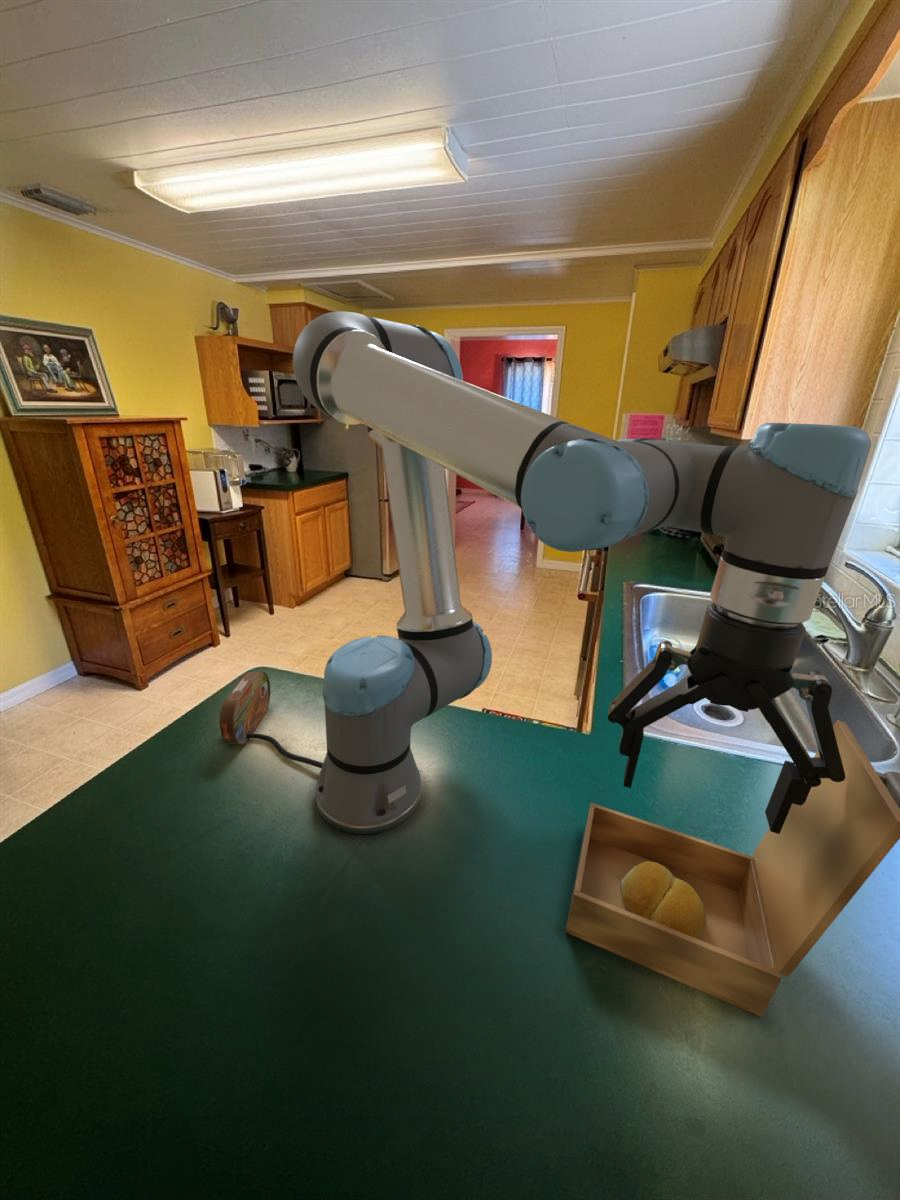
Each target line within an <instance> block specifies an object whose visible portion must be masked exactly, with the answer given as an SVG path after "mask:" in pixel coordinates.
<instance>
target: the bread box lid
mask: <svg viewBox="0 0 900 1200" xmlns="http://www.w3.org/2000/svg"><path fill="white" fill-rule="evenodd" d="M833 729H834V733H835V737H836V741H837V745H838V749H839V752H840V756H841V760H842V764H843V768H844V772H845V780H844V781H842V782H834V781H832V780H831V779H830V778H820V779H821V784H820V785H819V786H817V787H811V790H810V792H809V794H808V797H807V799H806V801H805V803H804V804H802V805H801V806H800V805H796V804H793V803H792V805H791V808H790V810H789V812H788V815H787V817H786V820H785V822H784V825H783V827H782V829H781V832H780V834H777V833H774V832H771V831H770V828H769V827H768V828H767V830H766V833H764V835H763V837H762V838H761V840H760V841H759V843H758V845H757V846H756V848H755V850H754V851H753V857H754V859H755V863H756V868H757V873H758V877H759V882H760V886H761V891H762V895H763V900H764V905H765V909H766V914H767V918H768V923H769V928H770V932H771V937H772V941H773V946H774V951H775V955H776V960H777V964H778V969H779V973H780V974H781V976H784V977H787V978H789V977H790V976H791V975H792V974H793V972H794V971H795V970H796V968H798V966H799V965H800V964H801V962H802V961H803V960H804V959H805V957H806V956H807V955H808V953H809V952H810V951H811V950H812V949H813V947H814V946H815V945H816V944H817V943H818V942H819V940H820V938H821V937H822V936H823V935H824V934H825V933H826V932H827V930H828V929H829V927H830V926H831V925H832V924H833V922H834V921H835V920H836V919H837V918H838V917H839V915H840V914H841V913H842V912H843V910H844V909H845V907H846V906H847V905H848V904H849V903H850V901H851V900H852V899H853V897H855V895H856V894H857V893H858V892H859V890H860V889H861V888H862V887H863V885H864V884H865V883H866V882H867V880H868V879H869V878H870V876H871V875H872V874H873V873H874V871H876V869H877V868H878V866H879V865H880V864H881V862H883V860H884V859H885V858H886V856H887V855H888V854H889V853H890V851H891V850H892V849H893V848H894V847H895V845H896V844H897V843H898V842H899V840H900V772H897V771H885V772H879V771H877V770H876V769H875V767H874V766H873V764H872V763H871V761H870V759H869V758H868V756H867V755H866V753H865V752H864V750H863V748H862V747H861V745H860V744H859V741H858V740H857V738H856V737H855V735H854V734H853V733H852V731H851V729H850V727H849V726H848V724H847V723H846V722H844V721H841V720H836V721H835V723H834V725H833ZM813 757H816V758H820V755H819V752H818V750H817V751H816V753H815V755H814V756H813Z"/></svg>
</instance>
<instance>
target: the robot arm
mask: <svg viewBox="0 0 900 1200" xmlns="http://www.w3.org/2000/svg"><path fill="white" fill-rule="evenodd" d="M292 369H293V373H294V378H295V382H296V383H297V386H298V388H299V389H300V391H301V393H302V395H303V396H304V397H305V399H306V400H307V401H308V402H309V403H310V405H312V406H314V408H316V409H317V410H318V411H320V412H322V413H323V414H325V415H326V416H328V417H330V418H332V419H334V420H335V421H337V422H339V423H342V424H345V425H349V426H350V425H351V426H354V425H355V426H356V425H360V424H362V425H365V426H366V427H367V434H368V435H367V436H368V438H370V439H371V440H372V441H373V442H375V443H376V444H377V445H378V446H379V448H381V455H382V462H383V470H384V476H385V483H386V490H387V499H388V504H389V511H390V519H391V524H392V531H393V533H392V534H393V539H394V545H395V552H396V553H395V554H396V560H397V567H398V573H399V582H400V587H401V597H402V601H403V610H404V611H403V613H402V615H401V616H400V618H399V619H398V620H397V621H396V631H397V637H398V638H397V637H394V636H389V635H377V636H375V637H371V636H370V635H369V636H363V637H360V638H357V639H353V640H351V641H349V642H347V643H345V644H343V645H342V646H340V647H339V648H337V649H336V650H335V651H334V652H333V653H332V654H331V655H330V657H329V659H328V660H327V662H326V665H325V668H324V672H323V673H324V674H323V686H322V699H323V703H324V716H325V717H324V718H325V738H326V739H325V741H326V754H325V757H324V760H323V762H321V761H318V760H315V759H312V758H308V757H305V756H301V755H297V754H294V753H291V752H289V751H287V750H286V749H285V748H284V747H283V746H282V745H281V744H280V743H279V741H278V740H276V739H275V738H274V737H272V736H270V735H267V734H262V733H253V734H246V738H250V739H254V740H255V739H256V740H263V741H265V742H268V743H270V744H271V745H272V746H273V747H274V748H275V749H276V750H277V752H278V753H280V754H281V755H282V757H284V758H287V759H289V760H292V761H295V762H300V763H303V764H307V765H310V766H312V767H315V768H318V769H320V771H319V773H318V777H317V780H316V785H315V802H316V809H317V810H318V813H319V814H320V816H321V817H322V819H323V820H324V821H325V822H326V823H327V824H329V825H330V826H331V827H333V828H335V829H337V830H339V831H341V832H344V833H349V834H354V835H372V834H379V833H383V832H387V831H389V830H391V829H393V828H395V827H398V826H400V825H401V824H402V823H404V822H405V821H406V820H407V819H408V818H410V817H411V816H412V815H413V814H414V812H415V811H416V809H417V807H418V805H419V803H420V800H421V796H422V778H421V774H420V771H419V769H418V766H417V763H416V759H415V757H414V755H413V752H412V748H411V733H412V732H411V731H412V727H413V725H415V724H416V723H418V722H420V721H422V720H423V719H425V718H427V717H429V716H431V715H433V714H435V713H436V712H438V711H440V710H441V709H443V708H445V707H447V706H449V705H450V704H453V703H454V702H456V701H458V700H462V699H464V698H466V697H468V696H469V695H470V694H471V693H473V692H474V691H475V690H476V689H478V688H479V687H481V686H482V685H483V684H484V683H485V681H486V680H487V678H488V676H489V674H490V671H491V668H492V662H493V652H492V646H491V643H490V639H489V638H488V636H487V634H484V633H483V632H484V629H483V628H482V627H481V625H479V624H478V623H477V622H476V621H474V619H473V613H472V612H471V611H470V610H468V609H467V608H466V607H464V606H463V604H462V603H461V594H460V593H461V592H460V583H459V576H458V569H457V560H456V552H455V551H456V550H455V542H454V534H453V526H452V518H451V509H450V499H449V491H448V483H447V474H446V469H447V470H448V471H450V472H452V473H454V474H456V475H458V476H459V477H461V478H463V479H465V480H467V481H469V482H471V483H472V484H474V485H476V486H478V487H479V488H482V489H483V490H485V491H487V492H489V493H491V494H492V495H495V496H496V497H498V498H500V499H502V500H504V501H506V502H507V503H509V504H511V505H514V506H515V507H517V508H519V509H520V510H522V515H523V517H524V519H525V522H526V524H527V525H528V527H530V529H531V531H532V532H533V534H534V537H536V538H537V539H538V540H539V541H540V542H541V543H543V544H544V545H546V546H547V547H549V548H551V549H554V550H557V551H561V552H566V553H577V552H582V551H597V550H601V549H604V548H607V547H612V546H615V545H616V544H619V543H621V542H623V541H625V540H627V539H630V538H632V537H635V536H637V535H641V534H645V533H647V532H652V531H655V530H658V529H660V528H663V527H667V528H674V529H678V530H685V531H693V532H698V533H704V534H706V535H711V536H712V535H713V536H722V537H725V538H724V546H723V549H722V552H721V554H720V555H721V556H720V560H719V564H718V567H717V570H716V573H715V577H714V581H713V584H712V586H711V591H710V595H709V597H710V600H711V601H712V603H710V604H709V605H708V606H706V609H705V613H704V617H703V621H702V624H701V628H700V631H699V635H698V639H697V642H696V645H695V646H694V647H693V649H691V650H690V651H688V650H685V649H681V648H678V647H675V646H673V644H672V643H671V641H668V640H662V641H660V642H659V644H658V646H657V649H656V651H655V654H654V657H653V659H651V661H650V662H648V664H646V666H645V667H644V668H642V670H641V671H640V672H639V673H638V674H637V675H636V676H635V677H634V678H633V679H632V680H631V681H630V682H629V683H628V684H627V686H626V687H625V688H623V689H622V690H621V691H620V693H618V695H617V696H616V697H615V698H614V699H612V700H611V702H610V703H609V708H608V712H607V713H608V714H607V720H608V721H609V722H610V723H612V724H618V725H620V727H621V728H622V732H621V736H620V741H619V746H618V747H619V748H618V751H619V754H620V755H621V756H624V757H627V759H626V764H625V768H624V775H623V787H624V788H628V789H632V786H633V782H634V781H633V780H634V777H635V773H636V769H637V766H638V761H639V758H640V753H641V748H642V745H643V742H644V741H643V740H644V734H645V733H644V732H645V731H644V730H645V728H646V727H648V726H650V725H652V724H653V723H656V722H657V721H659V720H662V719H663V718H665V717H668V715H671V714H673V713H674V712H676V711H679V710H680V709H682V708H683V707H686V706H687V705H694V704H696V703H698V702H700V701H702V700H704V699H706V700H707V701H709V703H710V704H712V705H716V706H722V707H723V706H725V707H726V706H728V707H731V708H733V709H735V710H738V711H742V712H746V713H748V712H749V711H752V710H756V709H759V711H760V713H761V715H762V716H763V717H764V719H765V721H766V722H767V723H768V725H769V726H770V727H771V729H772V731H773V732H774V734H775V735H776V737H777V738H778V740H779V742H780V743H781V745H782V746H783V748H784V749H785V751H786V753H787V754H788V756H789V758H790V759H791V760H792V761H789V760H784V762H783V764H782V768H781V770H780V773H779V775H778V777H777V779H776V783H775V785H774V788H773V790H772V792H771V795H770V798H769V801H768V803H767V806H766V808H765V811H764V813H765V816H766V821H767V824H768V829H769V828H770V831H771V832H774V833H777V834H780V832H781V829H782V827H783V825H784V822H785V820H786V817H787V815H788V812H789V810H790V808H791V805H792V803H793V804H796V805H800V806H801V805H802V804H804V803H805V801H806V799H807V797H808V794H809V792H810V790H811V787H817V786H819V785H820V784H821V779H820V778H830V779H831V780H832V781H834V782H842V781H844V780H845V772H844V768H843V764H842V760H841V756H840V752H839V749H838V745H837V741H836V737H835V733H834V729H833V726H834V725H833V722H832V718H831V714H830V709H829V706H830V703H831V702H830V701H831V699H832V695H833V687H832V685H831V684H830V682H829V681H828V679H827V677H826V676H825V675H824V673H823V672H822V671H820V670H812V671H810V672H808V673H807V674H805V673H797V672H792V670H793V666H794V665H795V661H796V659H797V656H798V654H799V653H798V652H799V651H800V647H801V646H802V643H803V640H804V637H805V634H806V630H807V629H806V627H805V626H804V624H803V623H805V622H808V621H809V620H810V619H811V617H812V614H813V611H814V608H815V605H816V603H817V600H818V597H819V595H820V592H821V590H822V586H823V583H824V581H825V579H826V575H827V572H828V569H829V566H830V565H831V562H832V561H833V557H834V554H835V552H836V548H837V547H838V545H839V541H840V538H841V536H842V533H843V531H844V530H845V526H846V523H847V521H848V518H849V516H850V513H851V511H852V508H853V505H854V502H855V500H856V497H857V495H858V492H859V487H860V483H861V480H862V477H863V474H864V473H863V472H864V470H865V467H866V464H867V460H868V456H869V453H870V450H871V447H872V439H871V437H870V436H869V435H868V433H867V432H866V431H865V430H864V429H862V428H860V427H857V426H852V425H838V424H837V425H835V424H819V423H818V424H817V423H791V422H790V423H788V422H765V423H762V424H760V425H759V426H758V427H757V429H756V430H755V432H754V434H753V437H752V439H751V440H750V441H749V443H748V445H738V446H737V445H729V446H726V445H717V444H716V445H715V444H706V443H705V444H704V443H696V442H685V441H676V440H675V441H674V440H663V439H657V438H651V437H649V438H645V437H638V438H620V439H617V440H616V439H614V438H610V437H607V436H605V435H602V434H599V433H597V432H594V431H592V430H591V429H590V430H589V429H587V428H584V427H582V426H579V425H575V424H572V423H569V422H568V421H566V420H563V419H561V418H558V417H556V416H554V415H551V414H548V413H545V412H543V411H541V410H538V409H535V408H532V407H531V406H528V405H525V404H522V403H520V402H517V401H515V400H513V399H510V398H508V397H504V396H502V395H500V394H497V393H494V392H492V391H489V390H488V389H484V388H482V387H480V386H476V385H474V384H472V383H470V382H467V381H464V377H463V375H464V374H463V369H462V365H461V362H460V358H459V356H458V354H457V353H456V350H455V348H454V346H452V343H450V342H449V341H448V340H447V339H446V338H445V337H444V336H443V335H441V334H440V333H437V332H435V331H432V330H428V329H427V328H426V327H424V326H420V325H417V324H405V323H400V322H397V321H392V320H388V319H382V318H378V317H374V316H370V315H364V314H361V313H357V312H353V311H342V310H341V311H340V310H338V311H330V312H326V313H324V314H322V315H320V316H317V317H315V318H314V319H312V320H311V321H310V322H308V324H306V325H305V326H304V328H303V329H302V330H301V332H300V334H299V335H298V338H297V340H296V342H295V343H294V349H293V354H292ZM682 665H685V666H687V669H688V671H689V674H687V675H685V676H684V677H682V678H681V679H680V681H678V683H675V684H674V685H671V687H669V688H667V689H664V690H663V691H661V692H660V693H658V694H656V695H654V696H653V697H651V698H649V699H647V700H645V701H644V702H642V703H640V704H639V705H637V704H638V703H639V702H641V700H642V699H644V698H645V696H646V695H648V694H649V693H650V692H651V691H652V689H654V688H655V686H657V684H659V683H660V681H662V680H663V679H664V677H665V676H666V675H667V673H668V671H670V672H672V671H675V670H677V669H678V667H680V666H682ZM791 689H795V690H796V693H797V694H798V696H799V697H800V698H801V700H804V702H805V705H806V710H807V713H808V717H809V721H810V724H811V729H812V733H813V737H814V740H815V744H816V748H817V751H818V752H819V755H820V758H816V757H814V756H813V757H812V756H811V755H810V754H809V752H808V751H807V750H806V748H805V746H804V744H803V743H802V742H801V740H800V737H798V735H797V734H796V732H795V730H794V729H793V727H792V726H791V724H790V722H789V721H788V719H787V718H786V716H785V714H784V713H783V711H782V710H781V707H779V705H778V703H777V701H776V700H775V699H777V698H778V697H780V696H782V695H783V694H785V693H787V692H788V691H790V690H791Z"/></svg>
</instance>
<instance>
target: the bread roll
mask: <svg viewBox="0 0 900 1200" xmlns="http://www.w3.org/2000/svg"><path fill="white" fill-rule="evenodd" d="M620 891H621V894H622V897H623V900H624V903H625V905H626V907H627V908H628V910H629V911H630V912H631V913H633V914H636V915H638V916H641V917H643V918H646V919H648V920H651V921H653V922H656V923H658V924H661V925H663V926H666V927H668V928H671V929H673V930H676V931H678V932H681V933H683V934H686V935H688V936H691V937H693V938H696V939H700V937H701V936H702V934H703V931H704V929H705V926H706V914H705V908H704V906H703V903H702V901H701V899H700V898H699V896H698V894H697V893H696V891H695V890H694V889H693V888H692V887H691V886H690V885H689V884H688V883H686V882H684V881H682V880H680V879H678V878H676V877H674V876H673V875H672V874H671V872H670V871H669V870H668V869H667V868H665V867H664V866H662V865H660V864H659V863H656V862H649V861H647V862H643V863H641V864H638V865H636V866H634V868H632V869H631V870H630V871H629V872H628V873H627V874H626V875H625V877H624V878H623V879H622V881H621V883H620Z"/></svg>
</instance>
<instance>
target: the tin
mask: <svg viewBox="0 0 900 1200" xmlns="http://www.w3.org/2000/svg"><path fill="white" fill-rule="evenodd" d="M270 700H271V682H270V678H269V676H268V674H267V673H266V672H265V671H263V670H262V671H249V672H246V673H245V674H244V675H243V676H242V677H241V678H240V680H239V681H238V682H237V684H236V685H235V686H234V687H233V689H232V690H231V691H230V693H228V695H227V696H226V698H225V699H224V701H223V703H222V705H221V708H220V711H219V719H218V724H219V728H220V734H221V737H222V740H223V742H225V743H226V744H230V745H231V744H232V745H237V744H238V745H245V744H247V743H248V742H249V741H250V739H251V738H246V734H255V731H256V730H257V728H258V726H259V724H260V723H261V721H262V720H263V718H264V716H265V715H266V713H267V711H268V709H269V705H270Z"/></svg>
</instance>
